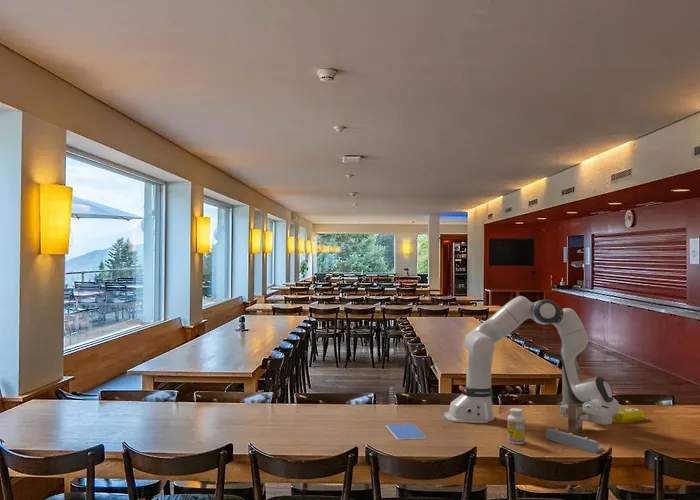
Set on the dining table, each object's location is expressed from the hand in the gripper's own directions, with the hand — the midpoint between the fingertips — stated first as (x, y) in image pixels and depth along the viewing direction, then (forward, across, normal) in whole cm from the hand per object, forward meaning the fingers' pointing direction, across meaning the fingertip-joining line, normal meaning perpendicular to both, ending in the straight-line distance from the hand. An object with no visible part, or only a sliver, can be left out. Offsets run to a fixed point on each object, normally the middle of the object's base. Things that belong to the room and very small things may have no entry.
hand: (573, 416), depth 233 cm
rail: (+10, +7, +8) cm, 14 cm away
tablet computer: (+54, -42, +9) cm, 70 cm away
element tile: (-44, -4, +8) cm, 45 cm away
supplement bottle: (+27, -8, +8) cm, 29 cm away
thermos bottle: (-27, -18, +8) cm, 34 cm away
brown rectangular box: (-1, 0, +6) cm, 6 cm away
